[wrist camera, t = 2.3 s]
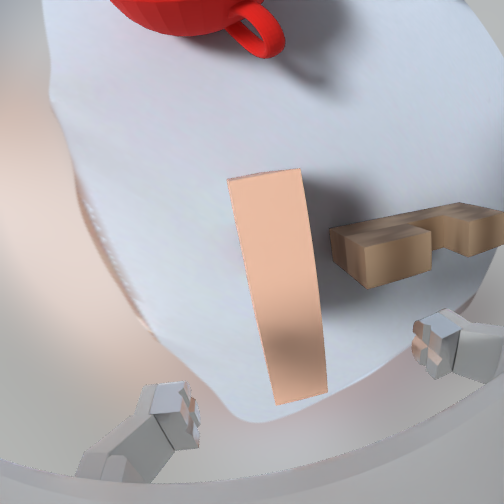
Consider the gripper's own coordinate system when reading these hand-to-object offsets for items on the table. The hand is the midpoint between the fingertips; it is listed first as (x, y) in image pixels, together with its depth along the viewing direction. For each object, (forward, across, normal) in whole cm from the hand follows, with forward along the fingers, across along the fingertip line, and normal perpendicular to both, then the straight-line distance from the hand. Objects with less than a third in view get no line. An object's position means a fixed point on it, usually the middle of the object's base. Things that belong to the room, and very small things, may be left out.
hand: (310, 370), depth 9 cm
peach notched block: (+16, 0, 0) cm, 16 cm away
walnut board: (+16, -15, +1) cm, 22 cm away
